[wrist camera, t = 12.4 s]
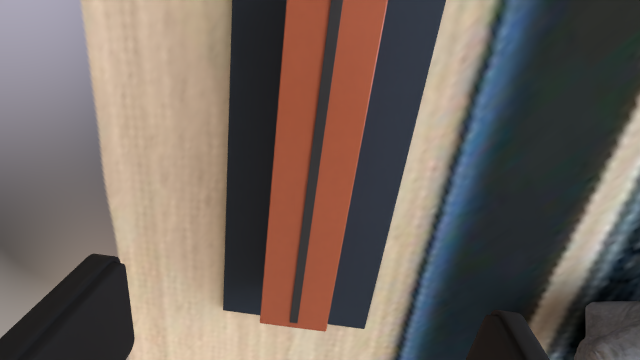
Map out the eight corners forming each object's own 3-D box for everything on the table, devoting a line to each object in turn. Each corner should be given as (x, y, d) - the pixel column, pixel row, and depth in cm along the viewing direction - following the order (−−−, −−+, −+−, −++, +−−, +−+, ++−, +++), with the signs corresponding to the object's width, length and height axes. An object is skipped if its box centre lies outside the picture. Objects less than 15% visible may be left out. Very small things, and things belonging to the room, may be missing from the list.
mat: (238, -103, 17) (235, -108, 16) (460, -70, 17) (464, -73, 17) (225, 304, 27) (223, 310, 27) (363, 323, 28) (364, 329, 27)
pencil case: (297, -12, 18) (288, -23, 14) (378, 0, 18) (389, -8, 14) (270, 281, 26) (259, 324, 22) (327, 288, 26) (325, 333, 22)
